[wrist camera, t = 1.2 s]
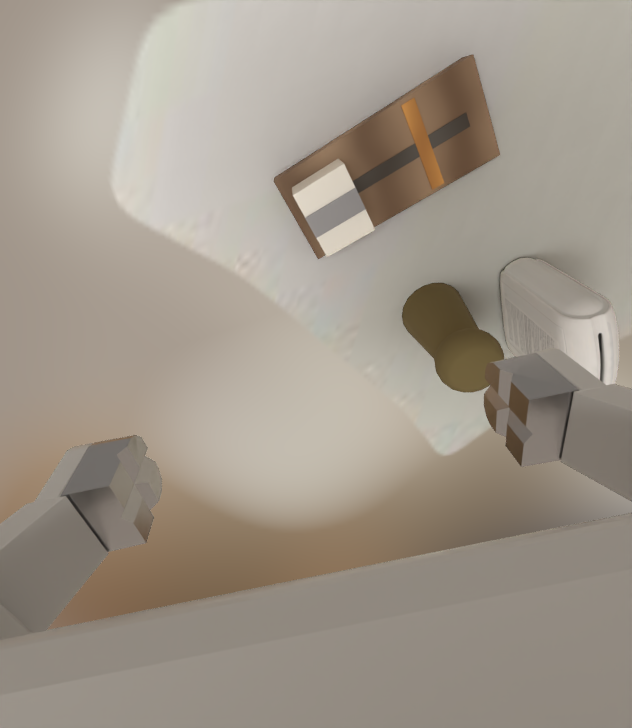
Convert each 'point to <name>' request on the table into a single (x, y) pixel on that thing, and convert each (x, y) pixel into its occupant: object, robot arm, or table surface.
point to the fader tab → (333, 207)
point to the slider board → (407, 147)
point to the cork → (450, 336)
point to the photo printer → (558, 317)
